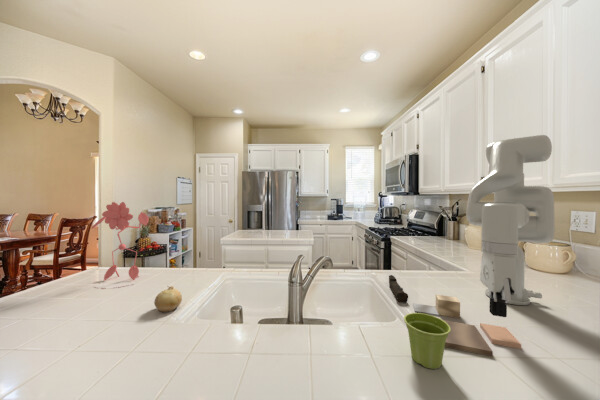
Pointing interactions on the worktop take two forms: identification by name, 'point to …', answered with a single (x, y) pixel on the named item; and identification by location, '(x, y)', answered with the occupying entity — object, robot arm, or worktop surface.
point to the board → (466, 339)
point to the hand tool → (397, 290)
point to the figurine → (120, 218)
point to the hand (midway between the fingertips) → (497, 314)
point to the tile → (500, 335)
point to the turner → (441, 307)
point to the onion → (168, 299)
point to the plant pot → (427, 338)
